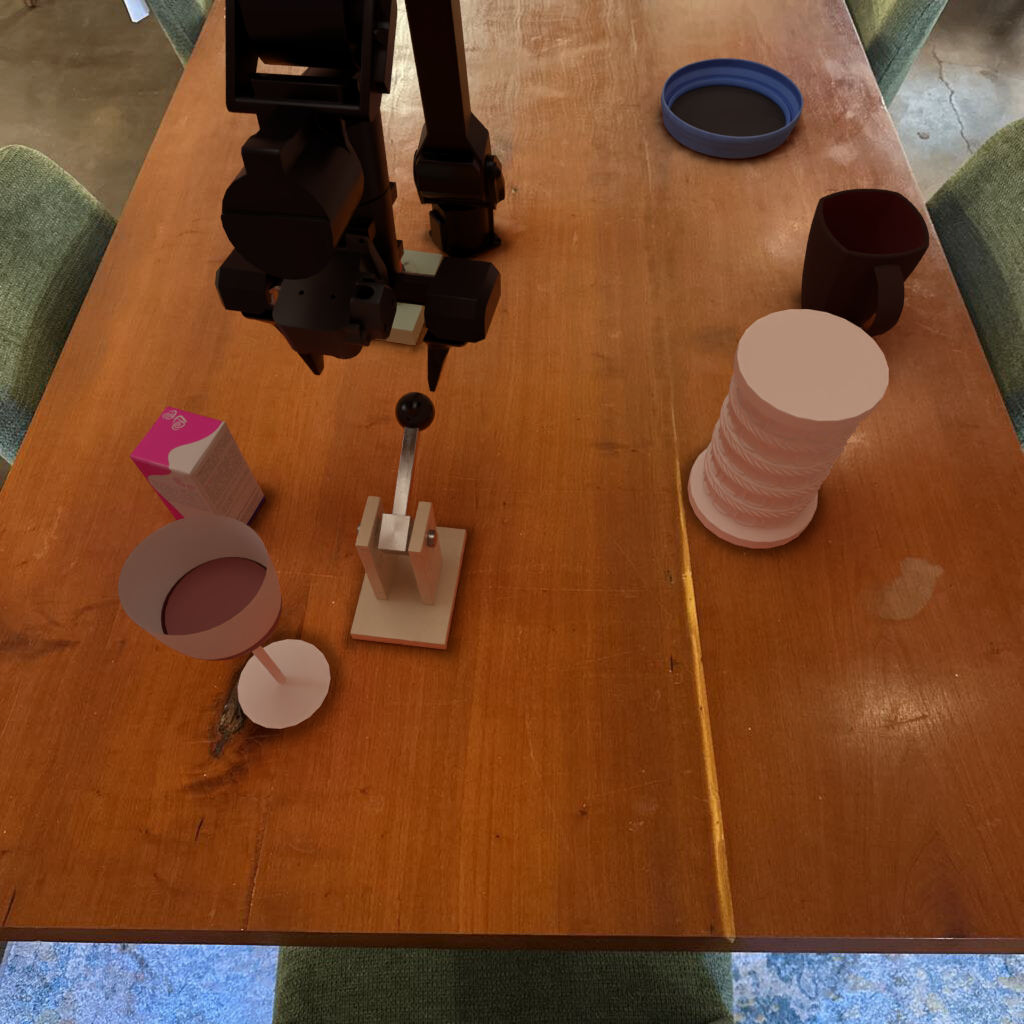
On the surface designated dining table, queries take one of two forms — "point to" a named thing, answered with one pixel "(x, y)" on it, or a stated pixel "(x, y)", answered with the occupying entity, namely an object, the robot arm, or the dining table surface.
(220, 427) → the supplement box
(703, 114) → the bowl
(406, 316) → the button block
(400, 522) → the lever
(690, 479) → the decorative container
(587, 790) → the dining table surface
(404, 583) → the bracket
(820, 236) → the cup
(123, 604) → the wineglass
